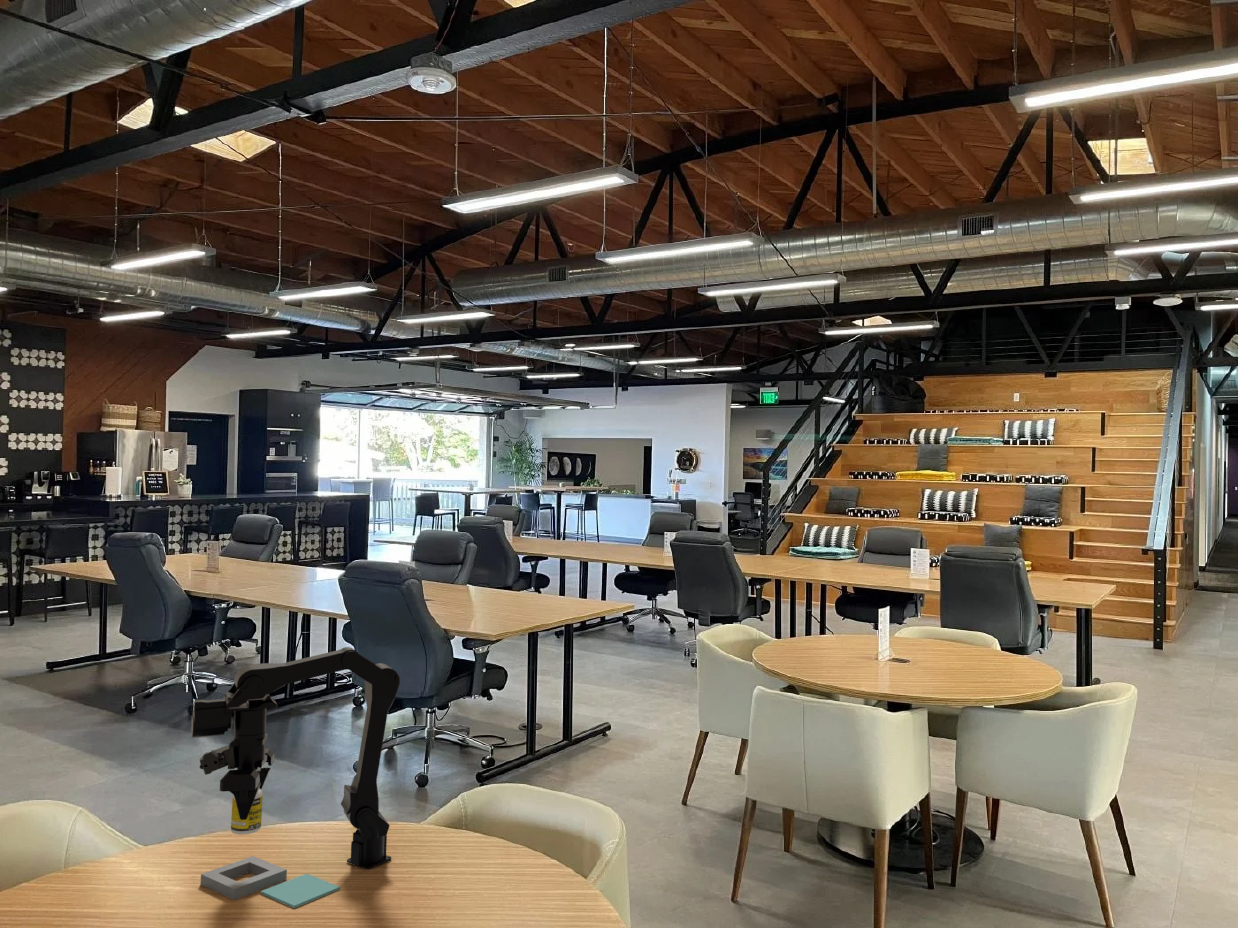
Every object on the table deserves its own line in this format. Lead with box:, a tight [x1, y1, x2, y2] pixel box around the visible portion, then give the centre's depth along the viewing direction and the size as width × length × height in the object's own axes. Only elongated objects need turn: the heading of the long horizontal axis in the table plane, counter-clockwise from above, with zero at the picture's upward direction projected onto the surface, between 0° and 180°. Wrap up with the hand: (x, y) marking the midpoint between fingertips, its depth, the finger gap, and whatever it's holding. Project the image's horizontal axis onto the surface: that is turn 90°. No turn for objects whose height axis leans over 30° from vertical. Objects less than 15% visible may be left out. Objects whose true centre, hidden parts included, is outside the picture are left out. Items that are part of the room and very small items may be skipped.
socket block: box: [200, 855, 288, 901], centre depth 171 cm, size 11×11×2 cm
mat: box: [260, 873, 341, 909], centre depth 167 cm, size 10×10×1 cm
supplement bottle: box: [230, 778, 264, 835], centre depth 172 cm, size 5×5×10 cm
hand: (246, 814), depth 171 cm, fingers closed on supplement bottle, 5 cm apart
